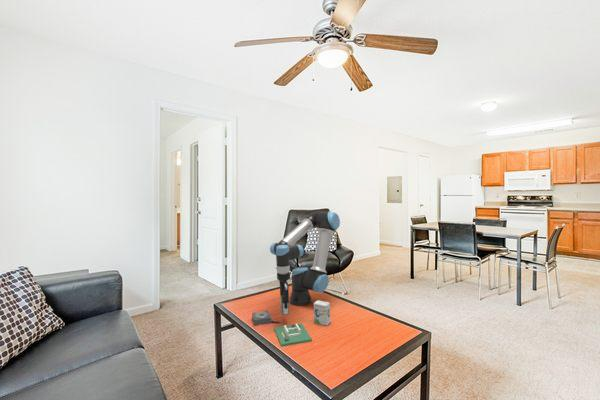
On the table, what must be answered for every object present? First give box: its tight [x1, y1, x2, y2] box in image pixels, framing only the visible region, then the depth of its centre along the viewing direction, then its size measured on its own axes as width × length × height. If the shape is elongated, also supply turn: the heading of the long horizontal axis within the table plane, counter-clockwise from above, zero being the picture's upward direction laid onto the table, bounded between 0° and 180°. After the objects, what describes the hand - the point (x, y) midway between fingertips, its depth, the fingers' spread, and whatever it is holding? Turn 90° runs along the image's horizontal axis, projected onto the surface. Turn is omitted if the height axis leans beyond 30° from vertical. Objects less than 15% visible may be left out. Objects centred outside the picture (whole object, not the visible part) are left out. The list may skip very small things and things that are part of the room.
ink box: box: [313, 299, 331, 326], centre depth 161 cm, size 9×5×12 cm, turn 62°
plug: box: [279, 295, 290, 316], centre depth 161 cm, size 5×4×10 cm
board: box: [274, 322, 313, 347], centre depth 148 cm, size 16×18×4 cm
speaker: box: [251, 310, 273, 326], centre depth 165 cm, size 10×10×4 cm
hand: (284, 311), depth 162 cm, fingers closed on plug, 4 cm apart
